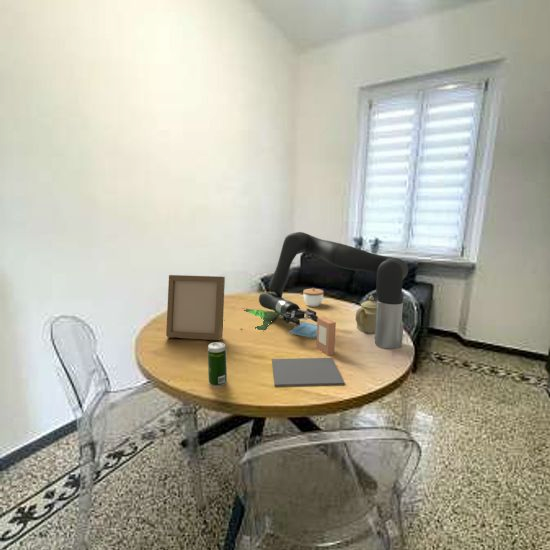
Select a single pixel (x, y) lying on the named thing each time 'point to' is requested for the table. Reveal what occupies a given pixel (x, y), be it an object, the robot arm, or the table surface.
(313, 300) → the lidded jar
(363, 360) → the table surface
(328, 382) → the mat
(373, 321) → the sugar bowl
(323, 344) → the card box
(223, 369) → the beer can
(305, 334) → the blue striped flat panel
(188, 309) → the photo frame
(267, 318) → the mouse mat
